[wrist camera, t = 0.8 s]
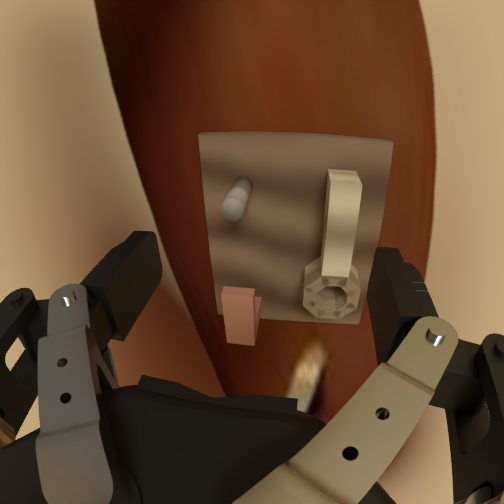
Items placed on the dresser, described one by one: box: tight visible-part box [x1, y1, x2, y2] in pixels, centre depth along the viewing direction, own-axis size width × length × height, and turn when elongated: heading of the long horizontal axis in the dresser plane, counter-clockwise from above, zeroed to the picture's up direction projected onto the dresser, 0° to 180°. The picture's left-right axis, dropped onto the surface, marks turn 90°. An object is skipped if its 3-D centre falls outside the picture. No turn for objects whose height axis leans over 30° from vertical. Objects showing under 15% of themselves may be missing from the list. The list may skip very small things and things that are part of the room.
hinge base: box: [198, 132, 393, 324], centre depth 30 cm, size 22×18×6 cm
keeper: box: [221, 286, 262, 346], centre depth 34 cm, size 7×3×6 cm, turn 2°
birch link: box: [303, 169, 362, 319], centre depth 30 cm, size 15×6×4 cm, turn 2°
